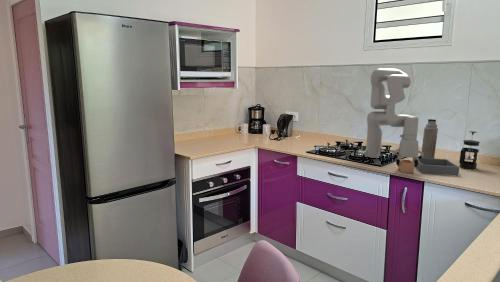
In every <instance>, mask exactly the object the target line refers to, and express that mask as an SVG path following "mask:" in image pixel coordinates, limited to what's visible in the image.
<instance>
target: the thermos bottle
mask: <svg viewBox="0 0 500 282" xmlns="http://www.w3.org/2000/svg"><path fill="white" fill-rule="evenodd" d="M438 132H439V128H438V124H437V119H432V118H429V119H428V118H427V123H426V124H425V127H424V129H423V135H422V137H423V138H422V143H421V152H423V153H424V155H423V156H422V158H434V159H435V154H436V147H437V141H438V140H437V139H438V138H437V137H438V134H439V133H438Z"/></svg>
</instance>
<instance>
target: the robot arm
mask: <svg viewBox="0 0 500 282" xmlns="http://www.w3.org/2000/svg"><path fill="white" fill-rule="evenodd" d="M384 83H386V85H387V86H386V87H387V92H388V94H386V87H385V84H384ZM411 84H412V81H411V77H410V76H409V75H408V74H407V73H405V72H403V71H402V70H401V69H398V68H388V67H385V68H384V67H383V68H382V67H380V68H375V69H374V70H373V71H372V72H371V75H370V85H371V92H370V93H371V94H370V108H372V109H373V110H374V111H370V112H369V113H368V114H367V117H366V123H367V131H366V133H367V134H366V143H365V149H364V150H358V152H357V153H358V154H359V155H360V154H361V155H365V157H367V156H368V157H370V158H377V157H379V156H381V148H382V138H383V130H382V129H381V127H382V126H385V127H386V126H390V127H391V128H402V134H400V135H399V137H400V138H401V139H400V142H399V146H398V148H397V149H395V150H392V151H391V152H392V154H393V156H394V157H395V159H396V160H395V161H396V162H395V164H396V166H397V167H398V166H399V164H400V159H401V158H413V157H415V162H414V163H415V167H417V166H418V161H419V160H420V159H421V158H422V156H423V155H424V153H423V152H422V150H420V149H419V141H418V139H417V138H418V129H419V117H418V116H416V115H411V114H401V113H400V114H398V113H397V114H396V112H395V111H396V109H395V108H396V104H398V103H401V102H403V101H404V100H405V99H406V94H405V90H404V89H408V88H409V87H410V86H411ZM375 110H377V111H375ZM381 110H383V111H381ZM396 153H397V154H396ZM415 167H414V168H415Z"/></svg>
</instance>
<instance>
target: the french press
mask: <svg viewBox="0 0 500 282" xmlns="http://www.w3.org/2000/svg"><path fill="white" fill-rule="evenodd" d="M469 133H471V139H464V140H462V141H463V145H465V146H470V147H462V148H461V149H460V155H459V163H458V164H459V166H458V167H460V168H459V169H463V168H464V169H463V170H469V169H471V171H475V170H474V169H476V170H478V169H477V168H478V167H477V165H478V163H477V160H478V153H479V152H480V149H478V148H474V147H479V145H480V144H481V142H480V141H479V140H473V138H474V134H476V133H478V132H477V131H472V130H471V131H469ZM473 146H474V147H473ZM466 153H469V154H468V156H466ZM471 153H473V156H471Z"/></svg>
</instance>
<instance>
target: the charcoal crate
mask: <svg viewBox="0 0 500 282" xmlns="http://www.w3.org/2000/svg"><path fill="white" fill-rule="evenodd" d="M411 161H412V162H415V157H412V160H411ZM414 169H416V170H417V171H418V172H419V173H420V174H426V175H427V174H429V175H431V174H432V175H443V176H457V177H459V174H460V169H461V168H460V167H459V166H458V165H457V164H456V163H453V162H452V161H450V160H449V159H447V158H435V157H434V158H421V159H420V160H419V161H418V166H417V167H415V166H414Z"/></svg>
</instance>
